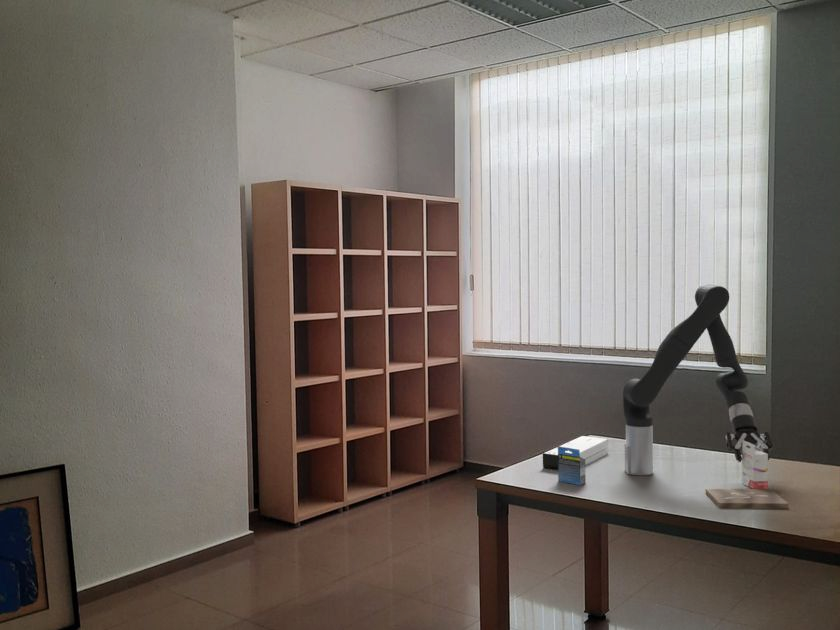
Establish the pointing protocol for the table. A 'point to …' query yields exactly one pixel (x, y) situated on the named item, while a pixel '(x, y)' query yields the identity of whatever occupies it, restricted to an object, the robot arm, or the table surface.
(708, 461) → the table surface
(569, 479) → the label tape cartridge
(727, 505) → the walnut board
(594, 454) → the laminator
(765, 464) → the ink cartridge box
